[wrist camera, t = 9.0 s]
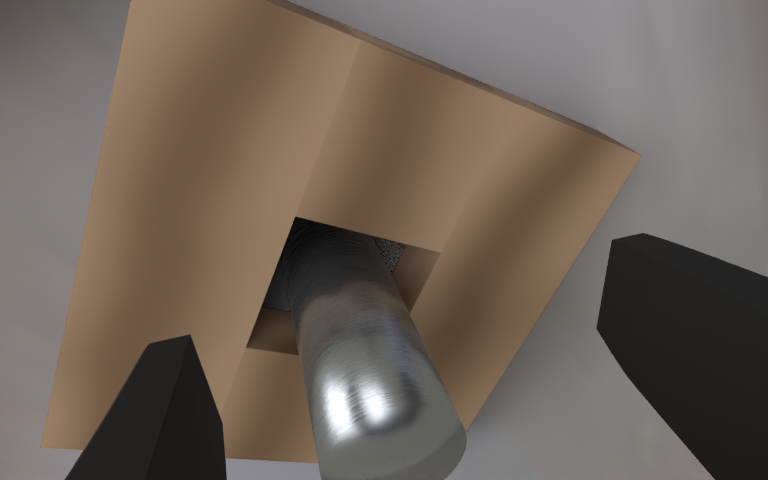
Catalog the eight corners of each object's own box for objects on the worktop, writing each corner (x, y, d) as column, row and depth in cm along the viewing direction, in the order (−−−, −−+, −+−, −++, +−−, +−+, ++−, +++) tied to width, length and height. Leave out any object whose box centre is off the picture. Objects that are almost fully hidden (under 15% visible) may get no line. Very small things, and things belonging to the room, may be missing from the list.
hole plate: (598, 131, 20) (641, 155, 18) (424, 427, 27) (441, 470, 25) (152, -56, 14) (141, -51, 12) (58, 392, 20) (40, 447, 18)
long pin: (360, 203, 19) (449, 382, 12) (387, 276, 21) (478, 470, 14) (266, 240, 19) (297, 446, 12) (303, 311, 21) (349, 526, 14)
